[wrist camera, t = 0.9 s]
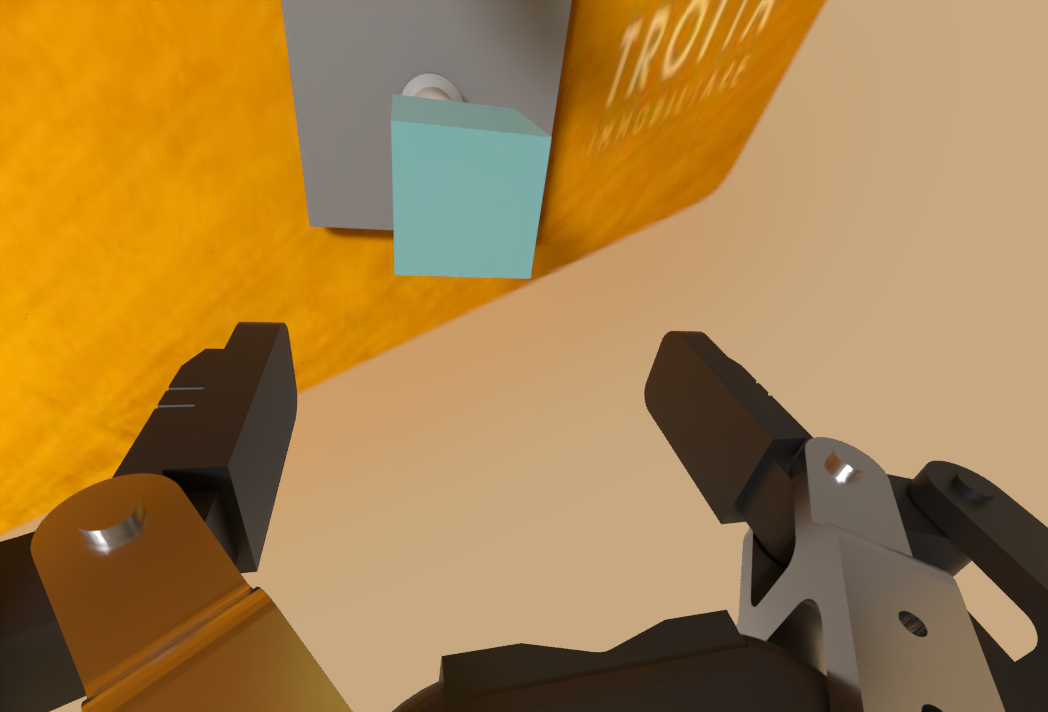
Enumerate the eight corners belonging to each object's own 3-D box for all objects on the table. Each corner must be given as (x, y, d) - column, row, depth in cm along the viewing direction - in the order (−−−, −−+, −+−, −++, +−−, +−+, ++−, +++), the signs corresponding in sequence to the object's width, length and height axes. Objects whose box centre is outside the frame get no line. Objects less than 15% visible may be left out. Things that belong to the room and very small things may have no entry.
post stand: (277, -86, 28) (148, -194, 13) (567, -28, 32) (703, -63, 18) (313, 217, 38) (262, 340, 23) (531, 228, 42) (599, 338, 28)
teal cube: (392, 93, 19) (390, 120, 14) (515, 108, 20) (551, 137, 15) (395, 217, 22) (395, 274, 17) (502, 223, 23) (530, 278, 18)
